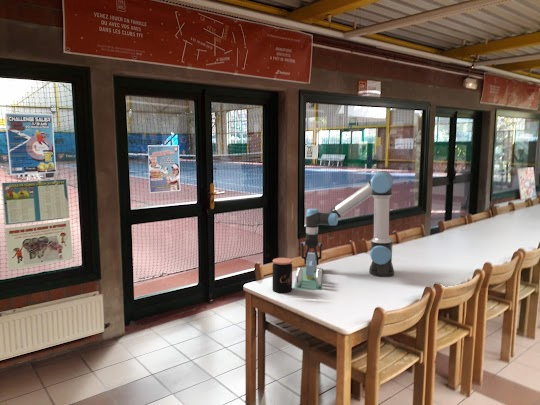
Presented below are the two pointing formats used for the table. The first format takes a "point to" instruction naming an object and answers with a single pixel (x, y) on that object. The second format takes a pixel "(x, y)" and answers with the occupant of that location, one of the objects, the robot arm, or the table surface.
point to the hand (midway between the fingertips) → (311, 269)
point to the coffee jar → (282, 275)
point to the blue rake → (310, 264)
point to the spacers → (300, 277)
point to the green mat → (309, 282)
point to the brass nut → (309, 277)
